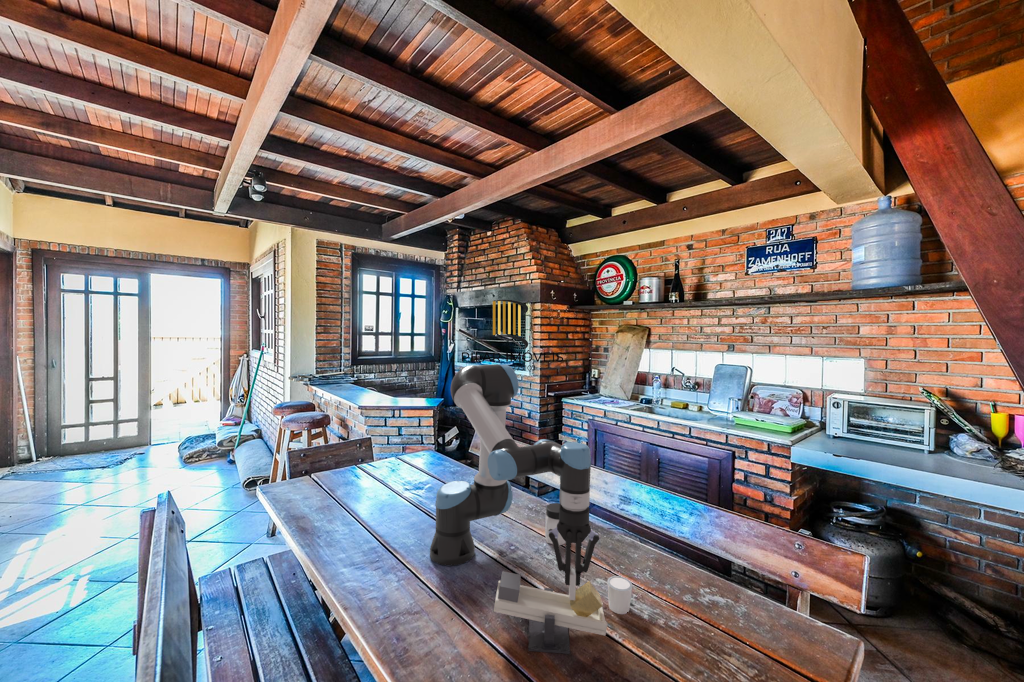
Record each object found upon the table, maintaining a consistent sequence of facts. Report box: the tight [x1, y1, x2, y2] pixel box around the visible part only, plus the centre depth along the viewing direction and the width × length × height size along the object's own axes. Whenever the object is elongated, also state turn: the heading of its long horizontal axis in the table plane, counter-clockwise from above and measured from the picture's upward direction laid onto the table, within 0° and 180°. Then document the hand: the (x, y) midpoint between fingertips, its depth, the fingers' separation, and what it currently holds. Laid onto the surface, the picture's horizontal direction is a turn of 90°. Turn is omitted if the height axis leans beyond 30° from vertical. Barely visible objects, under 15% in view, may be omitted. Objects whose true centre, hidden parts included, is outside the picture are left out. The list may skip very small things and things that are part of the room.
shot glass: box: [606, 575, 633, 615], centre depth 116 cm, size 7×7×7 cm
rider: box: [570, 580, 603, 617], centre depth 105 cm, size 4×4×6 cm
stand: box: [528, 587, 571, 655], centre depth 106 cm, size 10×14×8 cm
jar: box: [544, 502, 566, 547], centre depth 152 cm, size 9×8×12 cm
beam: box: [493, 570, 609, 636], centre depth 106 cm, size 28×9×6 cm, turn 87°
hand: (571, 596), depth 105 cm, fingers closed
